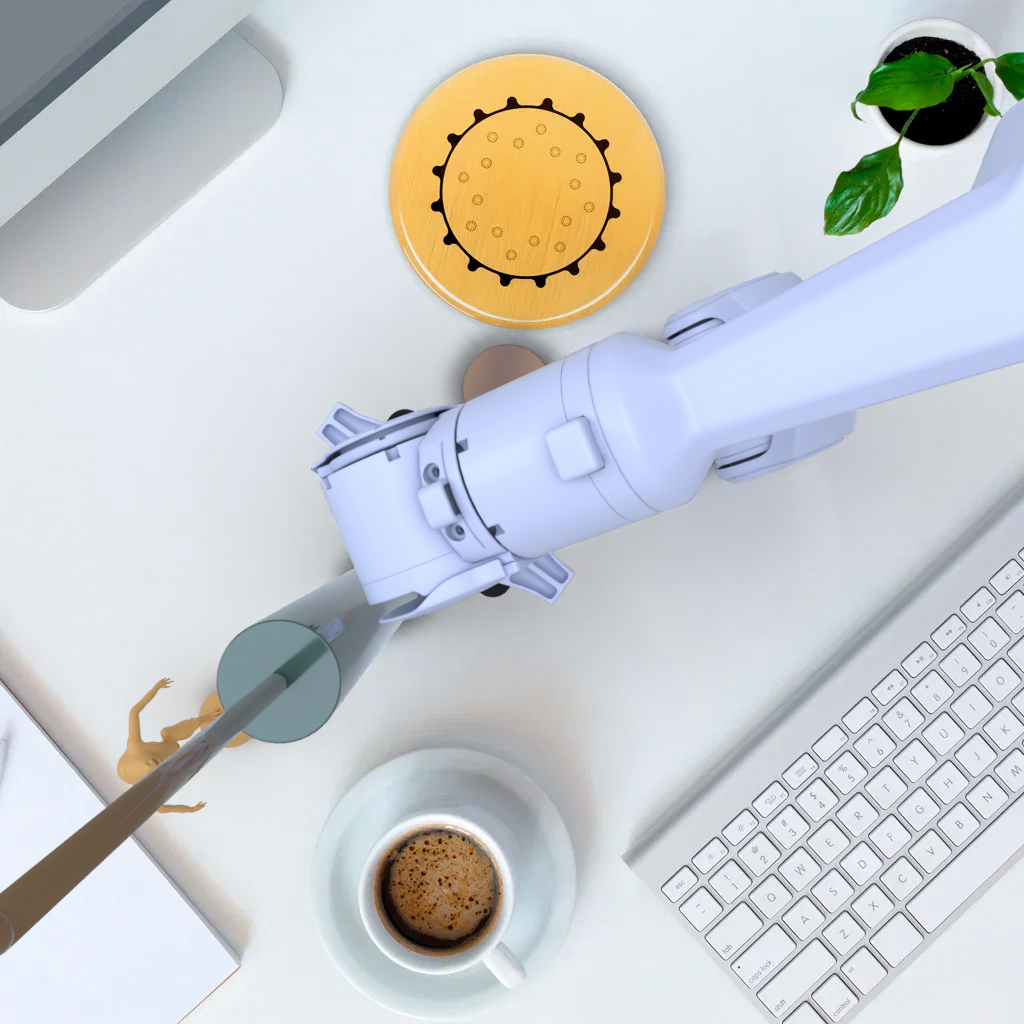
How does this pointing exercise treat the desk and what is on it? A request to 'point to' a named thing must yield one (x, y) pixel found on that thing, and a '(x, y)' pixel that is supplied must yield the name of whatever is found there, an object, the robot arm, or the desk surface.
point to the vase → (228, 725)
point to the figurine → (166, 742)
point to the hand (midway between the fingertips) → (455, 500)
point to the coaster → (498, 369)
